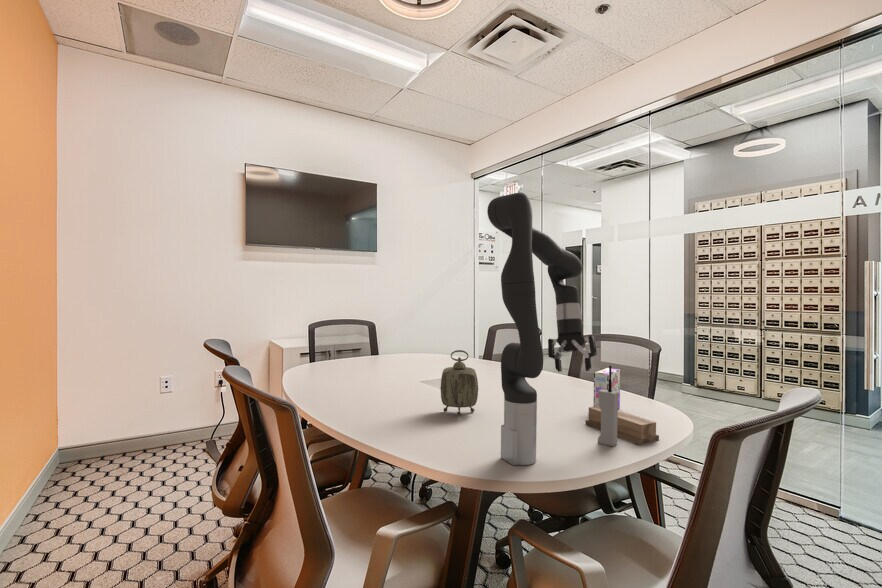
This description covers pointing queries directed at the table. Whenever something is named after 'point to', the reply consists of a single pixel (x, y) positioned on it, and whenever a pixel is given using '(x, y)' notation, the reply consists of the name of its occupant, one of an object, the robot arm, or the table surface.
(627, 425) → the walnut ridge
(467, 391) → the tabletop clock
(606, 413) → the vintage mobile phone
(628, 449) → the table surface
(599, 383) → the candy box
